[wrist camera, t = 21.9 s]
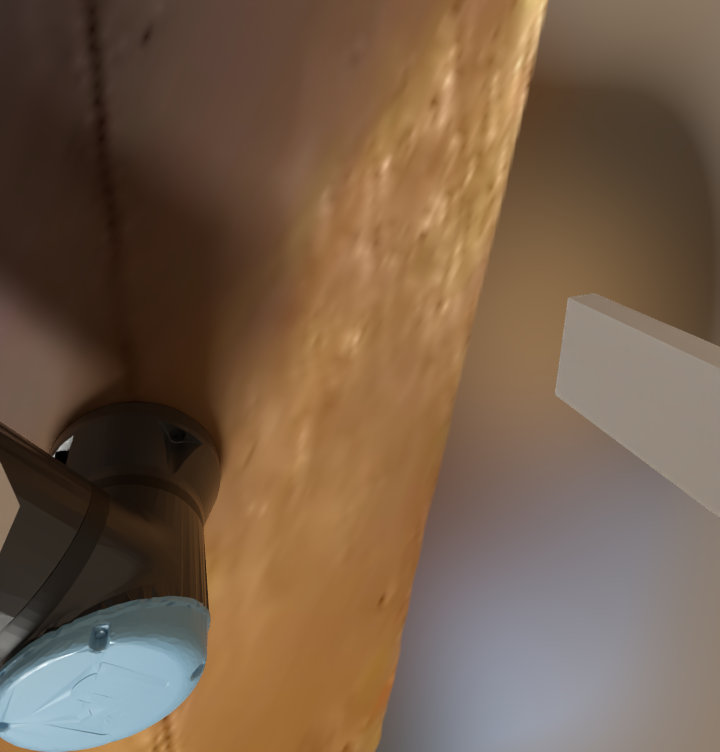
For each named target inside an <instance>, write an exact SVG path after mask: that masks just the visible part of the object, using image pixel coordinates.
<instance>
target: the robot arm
mask: <svg viewBox="0 0 720 752" xmlns="http://www.w3.org/2000/svg"><path fill="white" fill-rule="evenodd" d="M555 395H556V396H557V397H559V398H560V399H561V400H563V401H564V402H566V403H567V404H568V405H570V406H571V407H572V408H573V409H575V410H576V411H578V412H579V413H580V414H581V415H583V416H584V417H586V418H587V419H588V420H590V421H591V422H592V423H594V424H595V425H596V426H598V427H599V428H600V429H602V430H603V431H604V432H606V433H607V434H608V435H610V436H611V437H612V438H614V439H615V440H616V441H618V442H619V443H621V444H622V445H623V446H624V447H626V448H627V449H628V450H630V451H631V452H632V453H634V454H635V455H636V456H638V457H639V458H640V459H642V460H643V461H644V462H646V463H647V464H648V465H650V466H651V467H652V468H654V469H655V470H656V471H658V472H659V473H660V474H662V475H663V476H664V477H666V478H667V479H668V480H670V481H671V482H672V483H674V484H675V485H676V486H678V487H679V488H680V489H682V490H683V491H685V492H686V493H687V494H688V495H690V496H691V497H693V498H694V499H695V500H696V501H698V502H699V503H700V504H702V505H703V506H704V507H706V508H707V509H708V510H710V511H711V512H713V513H714V514H715V515H717V516H718V517H719V518H720V347H719V346H716V345H714V344H712V343H709V342H707V341H705V340H702V339H700V338H698V337H695V336H693V335H691V334H688V333H686V332H684V331H681V330H679V329H676V328H674V327H672V326H670V325H667V324H665V323H662V322H660V321H658V320H656V319H653V318H651V317H649V316H646V315H644V314H642V313H639V312H637V311H635V310H632V309H630V308H627V307H625V306H623V305H621V304H618V303H616V302H614V301H611V300H609V299H607V298H604V297H602V296H600V295H597V294H595V293H594V294H587V295H582V296H575V297H569V298H568V303H567V310H566V318H565V325H564V332H563V339H562V347H561V354H560V361H559V369H558V376H557V383H556V390H555ZM219 487H220V464H219V456H218V452H217V449H216V447H215V444H214V442H213V441H212V439H211V437H210V436H209V434H208V433H207V432H206V431H205V429H204V428H203V427H202V426H201V425H200V424H198V423H197V422H196V421H195V420H193V419H192V418H190V417H189V416H187V415H185V414H184V413H182V412H180V411H177V410H175V409H172V408H170V407H166V406H163V405H159V404H153V403H145V402H127V403H119V404H113V405H109V406H105V407H102V408H99V409H96V410H94V411H91V412H89V413H87V414H85V415H83V416H82V417H80V418H78V419H77V420H76V421H74V422H73V423H72V424H70V425H69V426H68V427H67V428H66V429H65V430H64V431H63V432H62V433H61V434H60V436H59V437H58V438H57V440H56V441H55V443H54V445H53V447H52V449H51V451H50V454H48V453H47V452H45V451H44V450H42V449H40V448H39V447H37V446H36V445H34V444H33V443H31V442H30V441H28V440H27V439H25V438H24V437H22V436H21V435H19V434H18V433H16V432H15V431H13V430H12V429H10V428H9V427H7V426H6V425H4V424H3V423H1V422H0V737H1V738H2V739H4V740H5V741H7V742H9V743H11V744H13V745H15V746H18V747H22V748H26V749H30V750H36V751H46V752H63V751H74V750H82V749H88V748H93V747H97V746H101V745H104V744H107V743H109V742H113V741H117V740H120V739H123V738H126V737H129V736H131V735H133V734H136V733H138V732H140V731H142V730H144V729H146V728H148V727H150V726H151V725H153V724H155V723H157V722H158V721H160V720H161V719H163V718H164V717H166V716H167V715H168V714H170V713H171V712H172V711H173V710H175V709H176V708H177V707H178V706H179V705H180V704H181V703H182V702H183V701H184V700H185V699H186V698H187V697H188V696H189V695H190V693H191V692H192V691H193V689H194V688H195V686H196V685H197V683H198V682H199V680H200V678H201V675H202V673H203V671H204V667H205V663H206V659H207V634H208V630H209V626H210V625H209V624H210V621H211V620H210V613H209V606H208V590H207V575H206V559H205V544H204V529H203V527H204V525H205V523H206V521H207V518H208V516H209V514H210V512H211V510H212V507H213V505H214V503H215V501H216V498H217V495H218V492H219Z"/></svg>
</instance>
